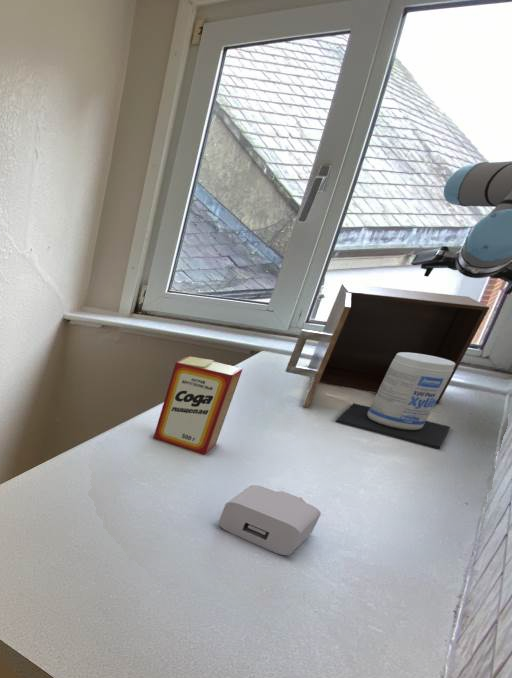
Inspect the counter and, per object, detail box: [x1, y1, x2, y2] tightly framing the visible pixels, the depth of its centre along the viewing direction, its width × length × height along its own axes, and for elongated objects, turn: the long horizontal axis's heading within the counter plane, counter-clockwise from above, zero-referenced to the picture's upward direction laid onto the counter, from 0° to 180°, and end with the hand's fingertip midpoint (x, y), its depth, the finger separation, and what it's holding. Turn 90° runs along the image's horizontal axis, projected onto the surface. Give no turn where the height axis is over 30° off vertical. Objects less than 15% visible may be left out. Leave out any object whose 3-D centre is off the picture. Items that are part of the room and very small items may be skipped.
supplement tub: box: [367, 352, 456, 430], centre depth 117 cm, size 10×10×15 cm
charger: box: [218, 484, 321, 556], centre depth 80 cm, size 5×9×15 cm
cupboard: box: [308, 283, 491, 405], centre depth 142 cm, size 18×26×24 cm
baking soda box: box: [152, 355, 244, 456], centre depth 104 cm, size 10×6×16 cm
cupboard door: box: [285, 293, 351, 408], centre depth 134 cm, size 7×26×23 cm, turn 141°
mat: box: [335, 403, 451, 450], centre depth 120 cm, size 17×17×1 cm
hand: (469, 278), depth 119 cm, fingers open, 13 cm apart
